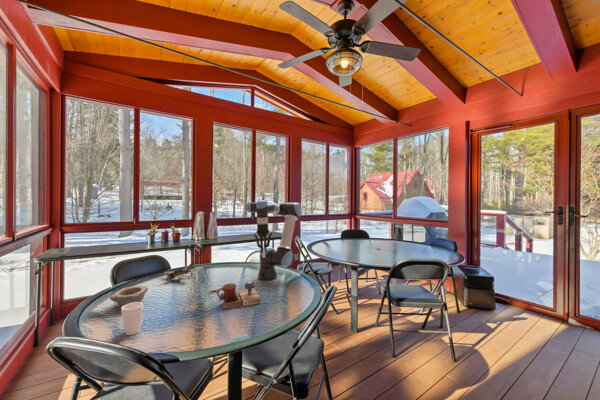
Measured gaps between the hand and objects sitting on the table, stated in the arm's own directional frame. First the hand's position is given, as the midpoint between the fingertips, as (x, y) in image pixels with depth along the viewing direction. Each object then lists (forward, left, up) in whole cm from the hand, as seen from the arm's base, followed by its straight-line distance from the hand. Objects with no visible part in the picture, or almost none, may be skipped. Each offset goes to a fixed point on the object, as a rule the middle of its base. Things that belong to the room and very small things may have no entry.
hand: (263, 257), depth 185 cm
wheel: (+9, -12, -16) cm, 22 cm away
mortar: (-11, -82, -24) cm, 86 cm away
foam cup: (+26, -74, -24) cm, 82 cm away
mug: (+9, -26, -24) cm, 37 cm away
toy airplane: (-54, -54, -24) cm, 80 cm away
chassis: (+9, -18, -24) cm, 31 cm away
